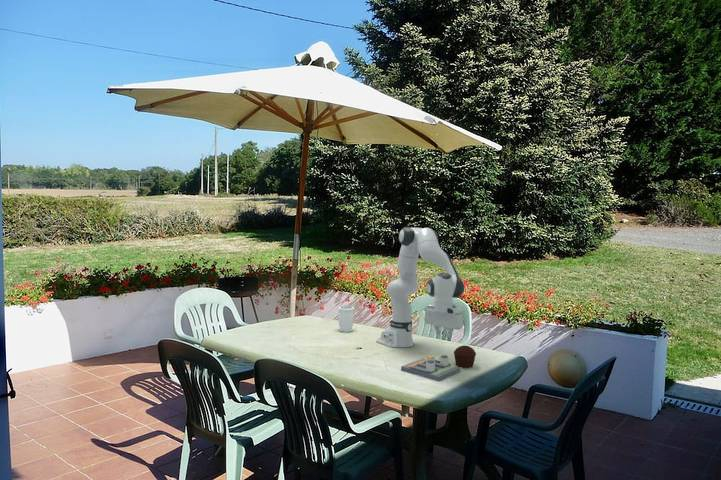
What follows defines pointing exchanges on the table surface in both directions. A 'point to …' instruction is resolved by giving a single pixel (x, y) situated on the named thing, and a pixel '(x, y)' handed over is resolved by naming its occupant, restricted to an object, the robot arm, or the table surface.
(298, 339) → the table surface
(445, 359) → the breaker
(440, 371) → the panel
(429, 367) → the breaker
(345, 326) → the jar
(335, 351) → the table surface
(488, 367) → the table surface
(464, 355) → the muffin
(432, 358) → the breaker mid
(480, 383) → the table surface
